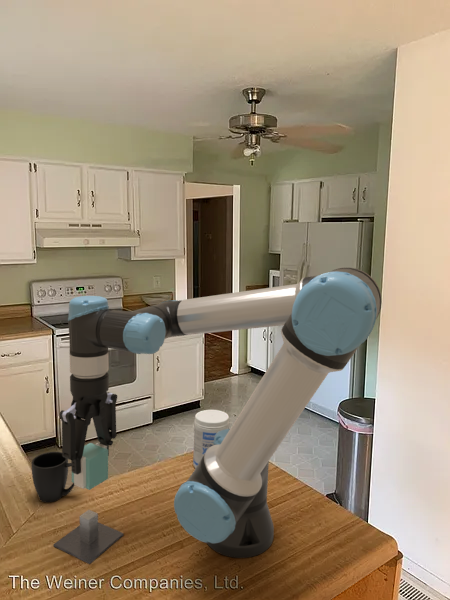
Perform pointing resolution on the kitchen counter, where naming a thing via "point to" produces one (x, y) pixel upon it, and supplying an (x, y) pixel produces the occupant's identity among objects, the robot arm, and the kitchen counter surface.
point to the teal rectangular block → (95, 465)
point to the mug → (50, 476)
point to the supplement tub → (207, 431)
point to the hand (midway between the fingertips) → (91, 479)
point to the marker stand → (88, 538)
